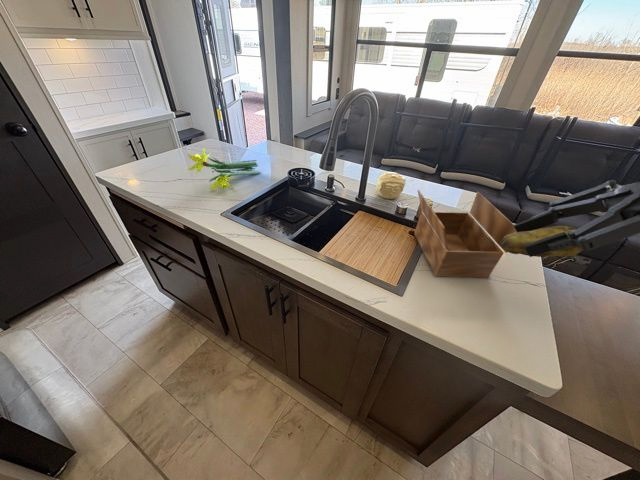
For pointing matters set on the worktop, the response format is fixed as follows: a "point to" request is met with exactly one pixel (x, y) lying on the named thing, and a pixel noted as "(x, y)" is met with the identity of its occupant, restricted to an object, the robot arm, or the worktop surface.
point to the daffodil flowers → (222, 165)
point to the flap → (433, 219)
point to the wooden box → (465, 240)
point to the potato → (517, 240)
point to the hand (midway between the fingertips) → (521, 240)
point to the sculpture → (390, 185)
